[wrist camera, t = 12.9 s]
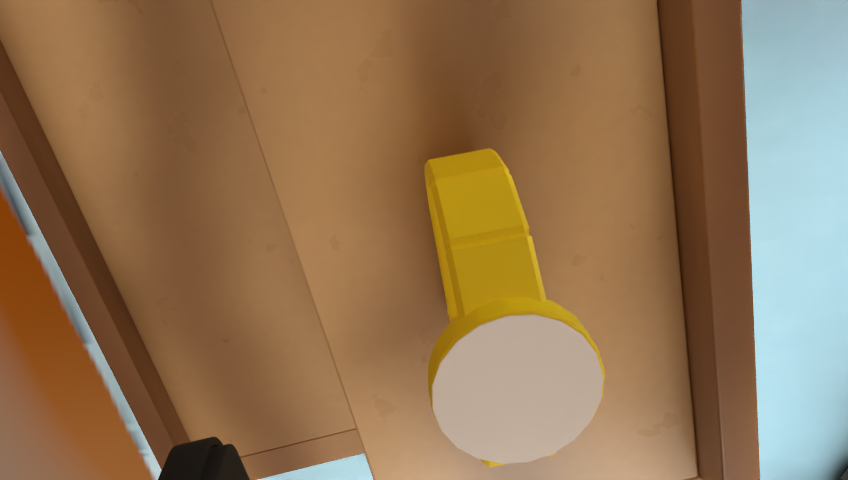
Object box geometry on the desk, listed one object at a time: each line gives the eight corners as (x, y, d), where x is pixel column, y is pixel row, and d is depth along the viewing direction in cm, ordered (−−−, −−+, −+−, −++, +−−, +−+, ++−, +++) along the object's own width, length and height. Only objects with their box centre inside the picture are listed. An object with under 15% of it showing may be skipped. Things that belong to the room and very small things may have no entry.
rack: (529, -191, 23) (728, -369, 11) (601, 306, 31) (763, 540, 18) (24, -61, 23) (-367, -84, 11) (223, 400, 31) (131, 694, 19)
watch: (536, 345, 17) (618, 527, 12) (429, 366, 17) (462, 558, 12) (508, 116, 15) (595, 208, 9) (384, 139, 15) (397, 247, 9)
